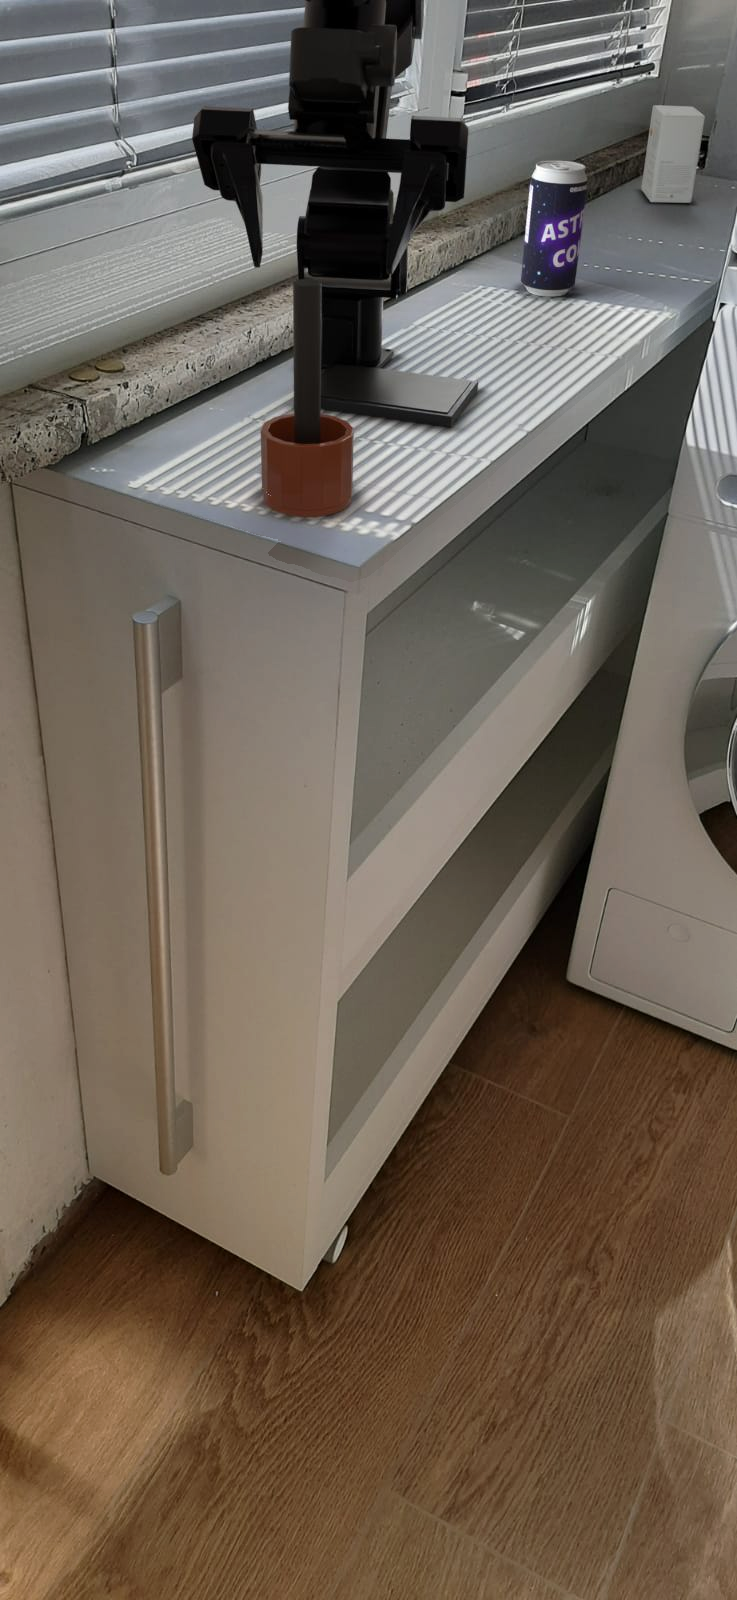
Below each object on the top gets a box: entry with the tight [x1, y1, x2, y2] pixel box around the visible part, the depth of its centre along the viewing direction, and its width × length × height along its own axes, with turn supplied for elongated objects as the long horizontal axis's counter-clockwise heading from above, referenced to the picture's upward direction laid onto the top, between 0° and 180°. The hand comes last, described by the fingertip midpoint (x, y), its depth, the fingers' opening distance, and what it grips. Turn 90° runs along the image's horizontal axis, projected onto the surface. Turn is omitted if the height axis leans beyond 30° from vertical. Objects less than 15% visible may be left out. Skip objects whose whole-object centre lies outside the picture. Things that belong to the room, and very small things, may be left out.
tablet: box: [321, 364, 479, 428], centre depth 104 cm, size 9×13×1 cm
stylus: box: [292, 279, 322, 444], centre depth 84 cm, size 2×2×14 cm
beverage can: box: [520, 160, 589, 298], centre depth 129 cm, size 6×6×12 cm
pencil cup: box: [260, 412, 355, 518], centre depth 87 cm, size 6×6×5 cm
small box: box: [640, 104, 706, 204], centre depth 168 cm, size 8×6×10 cm
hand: (322, 267), depth 87 cm, fingers open, 9 cm apart
